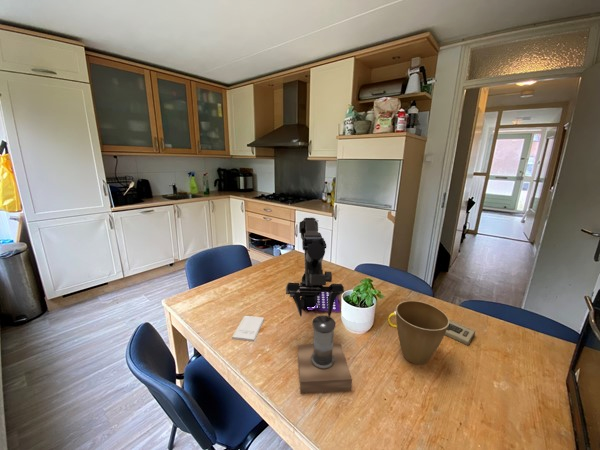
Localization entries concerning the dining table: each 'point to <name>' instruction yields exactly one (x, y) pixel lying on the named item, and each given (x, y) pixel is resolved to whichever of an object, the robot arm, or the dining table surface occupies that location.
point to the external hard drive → (248, 328)
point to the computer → (460, 332)
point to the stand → (323, 372)
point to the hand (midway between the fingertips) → (315, 316)
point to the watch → (389, 319)
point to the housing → (323, 342)
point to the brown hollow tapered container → (420, 330)
